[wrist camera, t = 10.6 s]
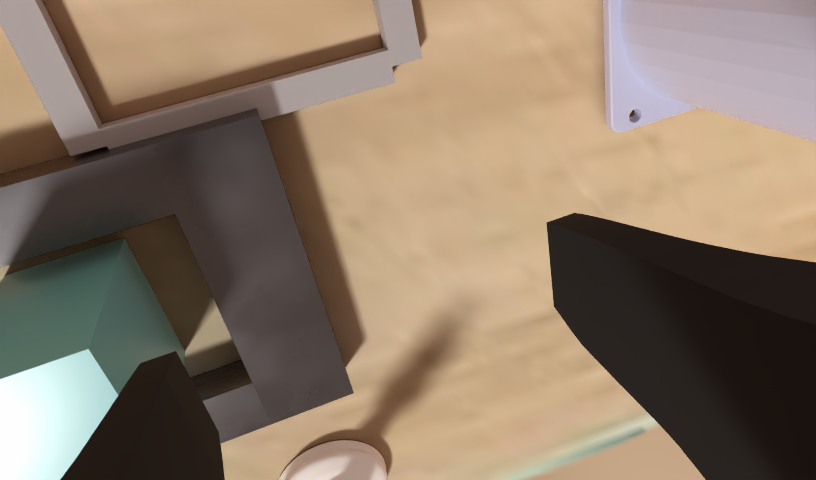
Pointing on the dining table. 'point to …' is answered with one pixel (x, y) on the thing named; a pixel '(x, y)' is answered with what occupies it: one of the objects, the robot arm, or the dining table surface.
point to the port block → (201, 253)
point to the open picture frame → (83, 130)
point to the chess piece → (337, 463)
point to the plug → (71, 353)
